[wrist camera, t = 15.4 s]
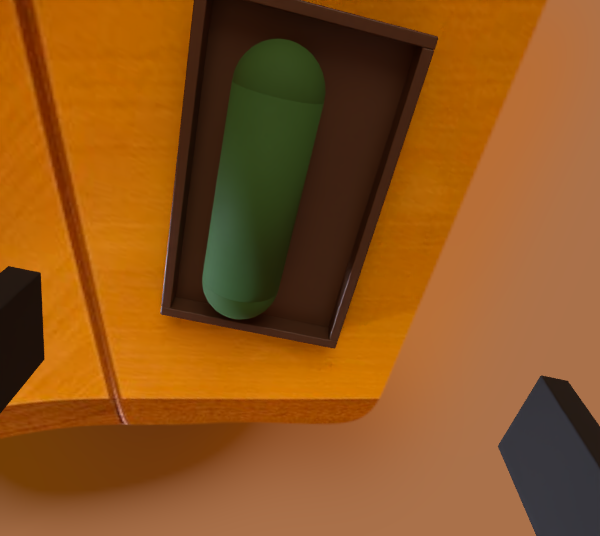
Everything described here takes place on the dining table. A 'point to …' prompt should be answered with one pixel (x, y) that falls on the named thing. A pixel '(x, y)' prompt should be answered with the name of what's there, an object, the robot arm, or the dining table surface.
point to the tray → (323, 164)
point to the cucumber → (261, 175)
